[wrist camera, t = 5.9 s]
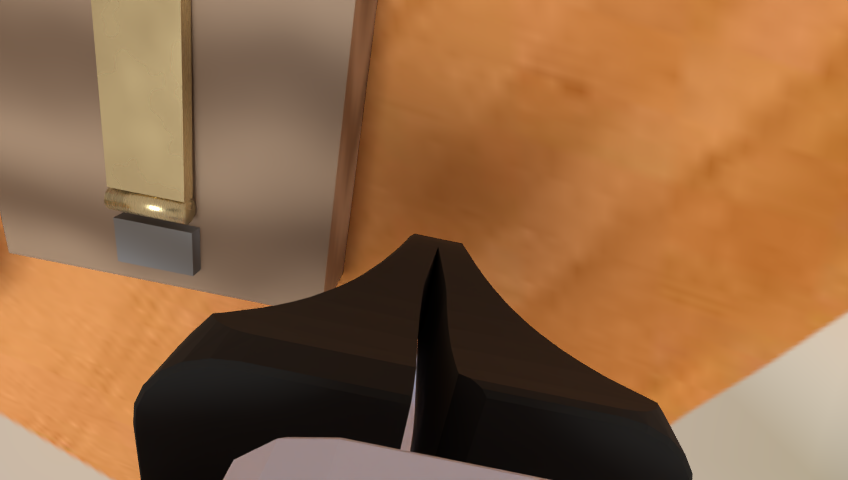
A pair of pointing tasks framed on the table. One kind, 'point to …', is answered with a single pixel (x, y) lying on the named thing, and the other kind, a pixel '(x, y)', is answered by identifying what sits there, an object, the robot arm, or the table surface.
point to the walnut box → (194, 146)
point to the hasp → (146, 105)
